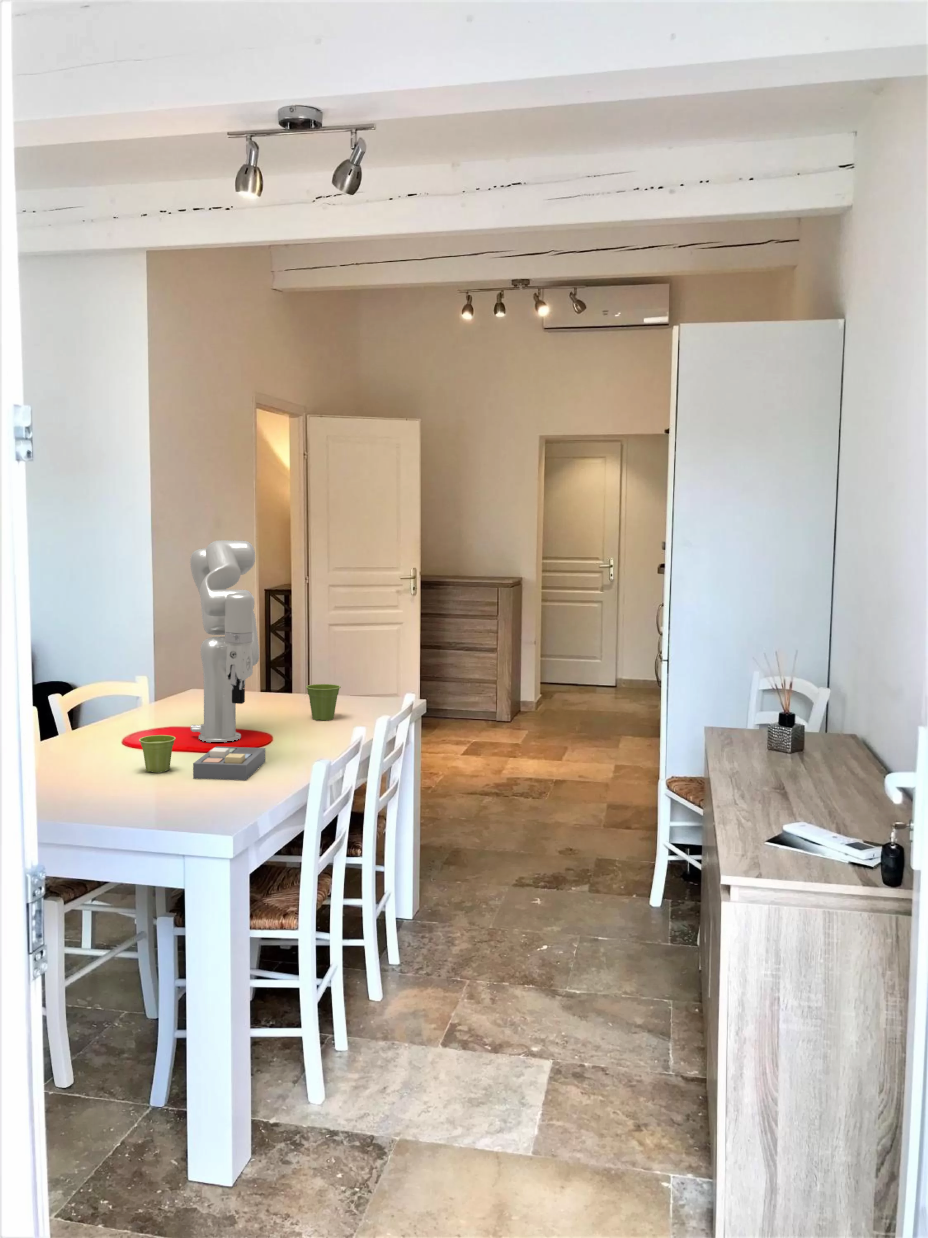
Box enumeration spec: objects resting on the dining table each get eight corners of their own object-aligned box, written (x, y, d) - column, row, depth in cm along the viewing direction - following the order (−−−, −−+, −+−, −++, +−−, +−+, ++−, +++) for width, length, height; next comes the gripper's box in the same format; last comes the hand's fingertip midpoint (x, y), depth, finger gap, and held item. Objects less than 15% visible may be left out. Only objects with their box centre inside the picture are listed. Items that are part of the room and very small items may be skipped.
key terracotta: (202, 773, 267) (202, 761, 267) (207, 769, 272) (207, 758, 271) (218, 773, 267) (218, 762, 267) (222, 769, 271) (222, 758, 271)
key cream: (209, 762, 273) (209, 751, 273) (214, 758, 277) (214, 747, 277) (224, 762, 273) (224, 751, 273) (229, 759, 277) (229, 748, 277)
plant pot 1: (142, 776, 267) (142, 743, 266) (136, 768, 275) (136, 736, 274) (179, 772, 271) (178, 740, 270) (171, 764, 280) (171, 733, 279)
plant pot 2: (347, 718, 349) (347, 686, 348) (325, 723, 339) (325, 690, 338) (321, 714, 355) (321, 682, 354) (298, 719, 345) (298, 686, 344)
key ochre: (225, 768, 267) (225, 757, 267) (229, 764, 271) (229, 753, 271) (240, 769, 267) (240, 757, 266) (245, 765, 271) (245, 754, 271)
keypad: (193, 778, 266) (193, 763, 265) (216, 760, 286) (216, 746, 285) (246, 780, 265) (246, 765, 265) (265, 762, 285) (265, 748, 284)
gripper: (243, 642, 273) (243, 709, 276) (259, 634, 288) (259, 698, 291) (216, 641, 274) (216, 708, 277) (234, 633, 289) (233, 696, 291)
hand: (238, 702), depth 284 cm, fingers closed
